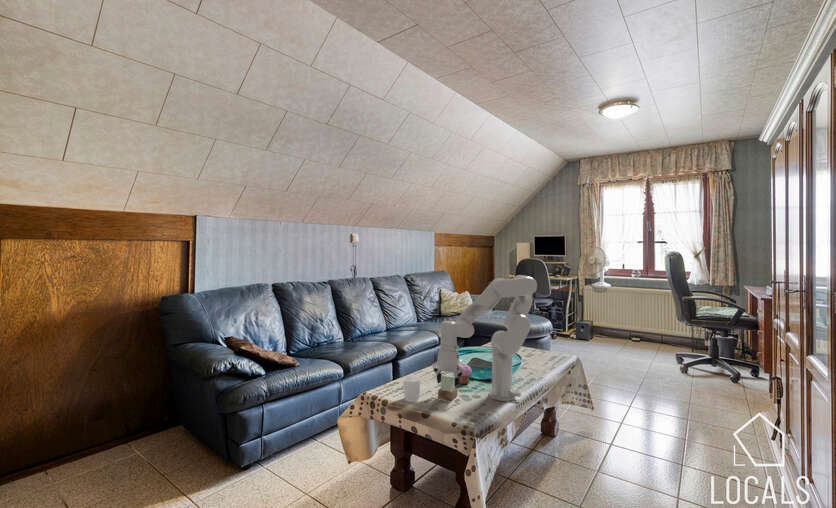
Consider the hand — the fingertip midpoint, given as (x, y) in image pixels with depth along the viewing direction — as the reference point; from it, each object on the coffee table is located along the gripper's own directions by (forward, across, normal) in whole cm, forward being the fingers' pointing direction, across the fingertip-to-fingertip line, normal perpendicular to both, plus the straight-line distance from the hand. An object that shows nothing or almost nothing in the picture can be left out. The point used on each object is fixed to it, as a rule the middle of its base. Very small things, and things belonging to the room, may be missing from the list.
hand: (447, 383), depth 186 cm
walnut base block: (+7, 0, 0) cm, 7 cm away
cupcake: (+7, +1, -24) cm, 25 cm away
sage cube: (+3, 0, 0) cm, 3 cm away
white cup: (+7, +14, +10) cm, 19 cm away
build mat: (+7, 0, 0) cm, 7 cm away
